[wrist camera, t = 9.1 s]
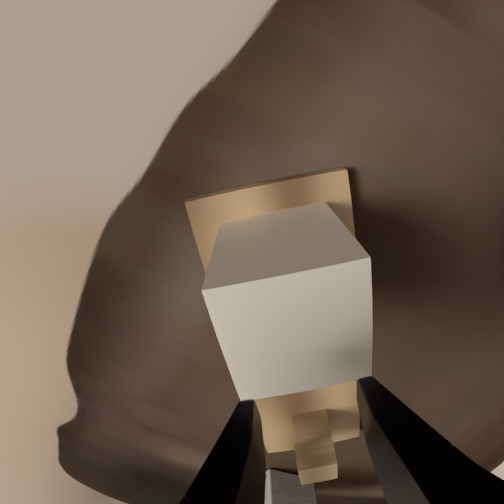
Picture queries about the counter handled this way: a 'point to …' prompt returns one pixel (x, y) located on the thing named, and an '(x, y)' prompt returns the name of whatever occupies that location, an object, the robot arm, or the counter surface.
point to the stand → (307, 402)
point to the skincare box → (287, 489)
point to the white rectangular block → (290, 301)
